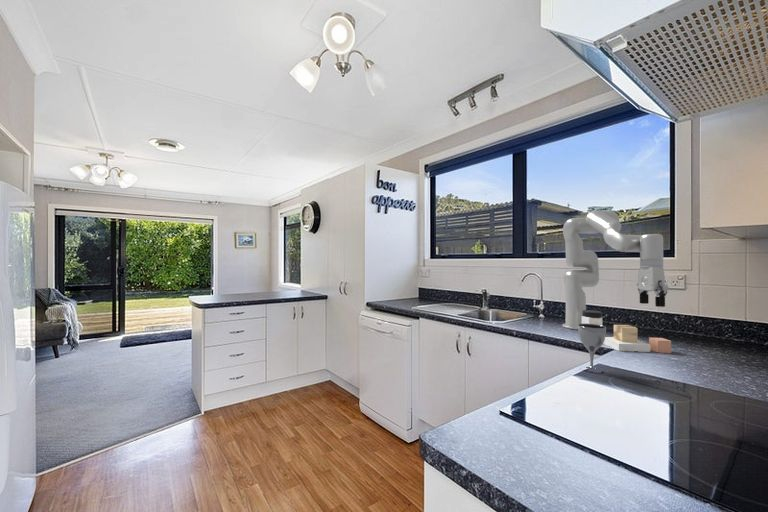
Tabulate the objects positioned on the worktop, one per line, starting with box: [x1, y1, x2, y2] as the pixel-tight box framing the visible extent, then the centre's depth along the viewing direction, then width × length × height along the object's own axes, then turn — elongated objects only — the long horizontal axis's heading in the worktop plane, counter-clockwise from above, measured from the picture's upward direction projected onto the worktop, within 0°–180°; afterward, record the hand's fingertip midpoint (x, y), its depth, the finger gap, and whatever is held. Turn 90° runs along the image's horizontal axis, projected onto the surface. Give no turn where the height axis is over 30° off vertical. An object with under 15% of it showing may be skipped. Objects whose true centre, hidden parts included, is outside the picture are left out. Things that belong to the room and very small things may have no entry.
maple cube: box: [613, 324, 639, 342], centre depth 141 cm, size 6×6×6 cm
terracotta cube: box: [648, 337, 672, 354], centre depth 136 cm, size 5×5×5 cm
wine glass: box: [578, 323, 607, 369], centre depth 112 cm, size 8×8×15 cm
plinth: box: [603, 336, 651, 353], centre depth 141 cm, size 12×12×3 cm
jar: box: [582, 309, 603, 326], centre depth 162 cm, size 9×8×12 cm
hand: (651, 305), depth 137 cm, fingers open, 9 cm apart
